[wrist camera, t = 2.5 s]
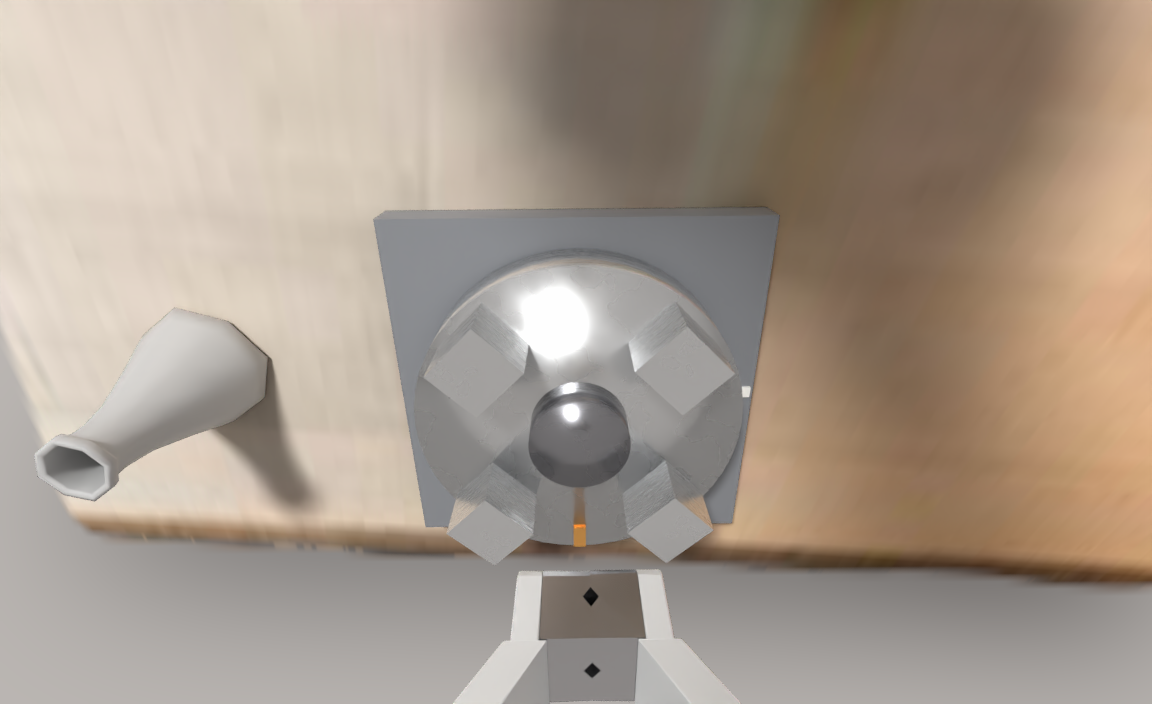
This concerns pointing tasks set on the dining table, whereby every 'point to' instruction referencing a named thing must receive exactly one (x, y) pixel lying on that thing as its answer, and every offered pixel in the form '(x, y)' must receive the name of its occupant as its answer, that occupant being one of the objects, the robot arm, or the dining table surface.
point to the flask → (159, 401)
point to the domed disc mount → (578, 406)
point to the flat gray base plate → (498, 237)
